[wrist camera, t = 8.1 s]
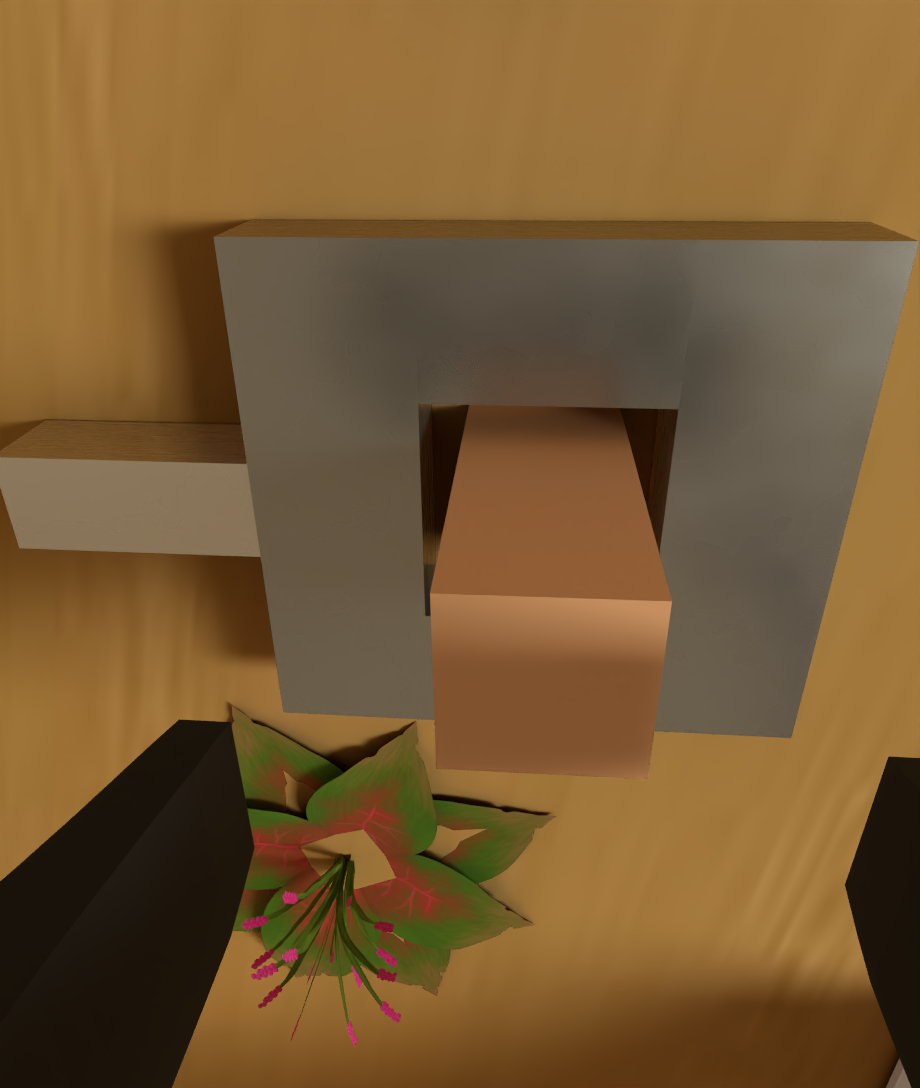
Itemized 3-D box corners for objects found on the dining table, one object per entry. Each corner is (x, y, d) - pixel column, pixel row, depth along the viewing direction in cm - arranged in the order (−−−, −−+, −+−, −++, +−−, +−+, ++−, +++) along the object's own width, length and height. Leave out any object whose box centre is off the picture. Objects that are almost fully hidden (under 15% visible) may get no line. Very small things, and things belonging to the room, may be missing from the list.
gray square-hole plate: (871, 222, 14) (918, 241, 12) (767, 678, 19) (791, 737, 17) (-9, 218, 15) (-80, 234, 13) (107, 648, 20) (67, 701, 18)
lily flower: (197, 624, 20) (113, 755, 16) (630, 780, 22) (652, 936, 18) (118, 904, 26) (42, 1051, 22) (464, 1014, 27) (452, 1171, 23)
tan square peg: (608, 539, 18) (647, 779, 11) (470, 535, 18) (436, 768, 12) (620, 406, 16) (671, 601, 10) (469, 404, 16) (429, 593, 10)
